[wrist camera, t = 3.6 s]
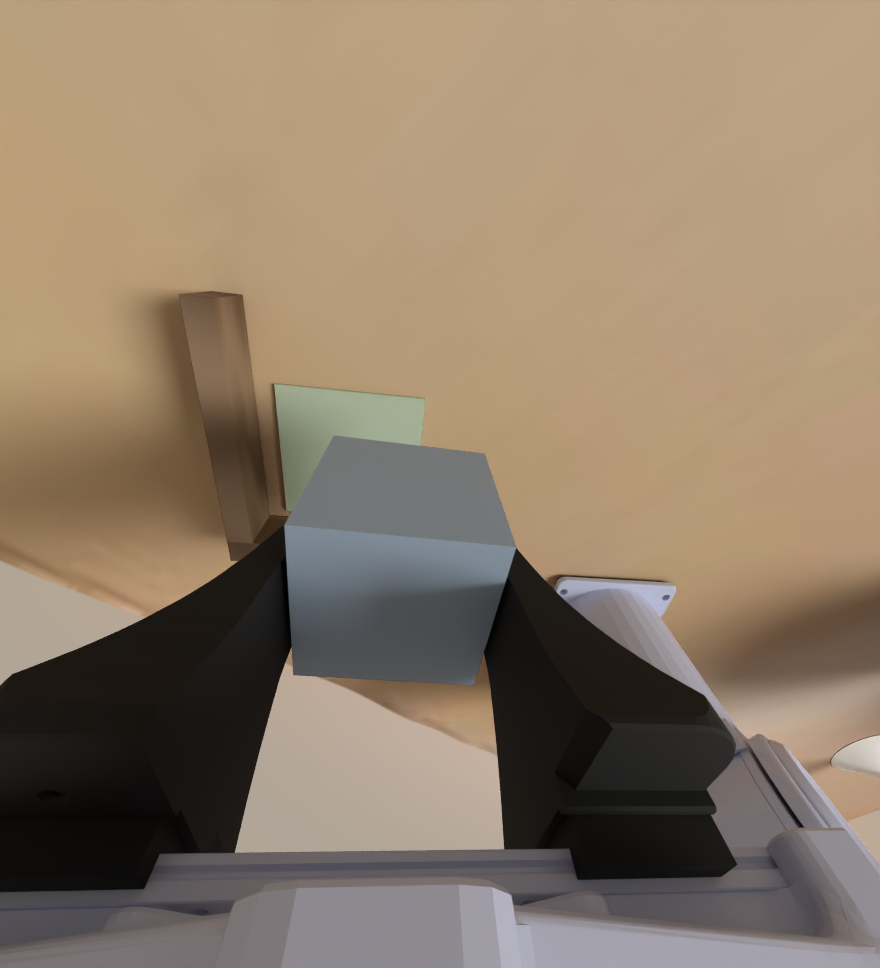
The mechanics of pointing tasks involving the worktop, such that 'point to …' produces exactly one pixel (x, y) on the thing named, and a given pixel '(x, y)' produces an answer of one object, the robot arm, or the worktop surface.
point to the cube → (395, 563)
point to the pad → (337, 426)
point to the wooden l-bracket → (229, 415)
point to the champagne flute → (860, 757)
